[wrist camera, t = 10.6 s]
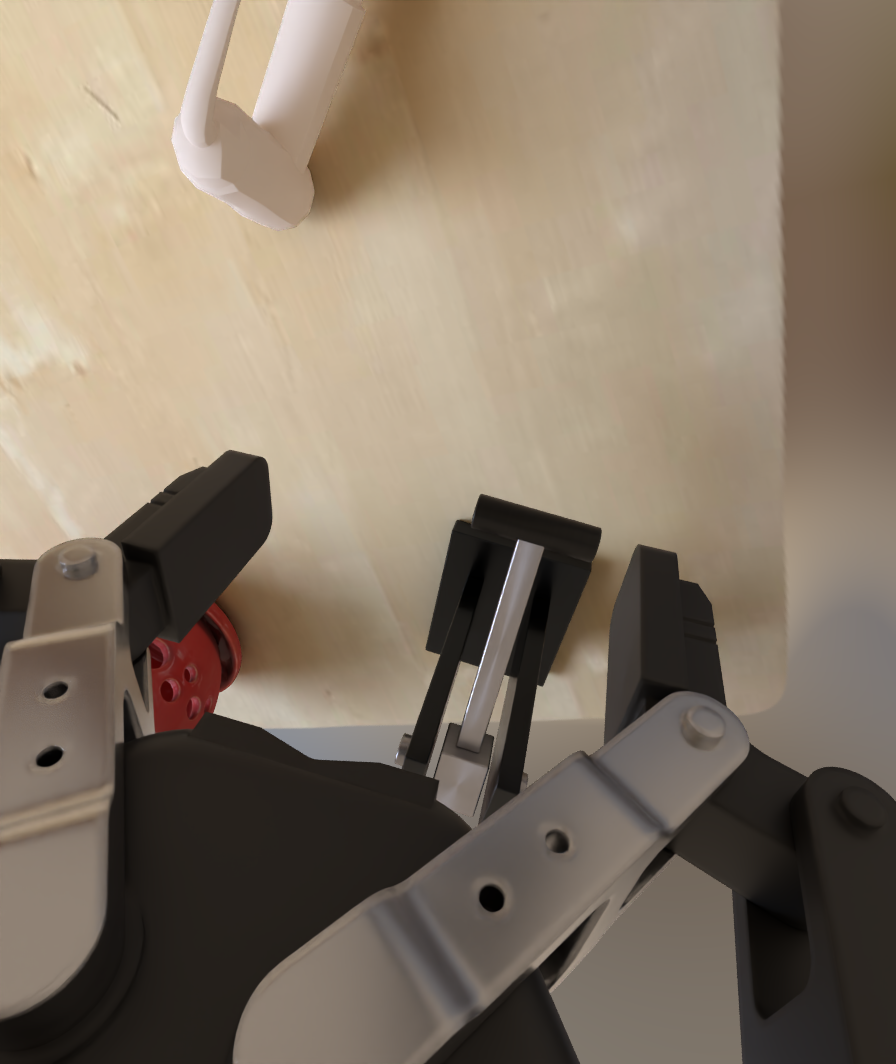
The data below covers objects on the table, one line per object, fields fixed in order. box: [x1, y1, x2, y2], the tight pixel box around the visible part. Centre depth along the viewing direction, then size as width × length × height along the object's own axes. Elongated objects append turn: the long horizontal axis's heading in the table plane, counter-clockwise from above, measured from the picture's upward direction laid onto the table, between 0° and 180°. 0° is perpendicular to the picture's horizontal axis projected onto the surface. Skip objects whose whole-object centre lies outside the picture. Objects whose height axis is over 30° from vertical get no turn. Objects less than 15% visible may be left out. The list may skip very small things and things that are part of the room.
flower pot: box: [148, 603, 242, 733], centre depth 41 cm, size 13×13×12 cm
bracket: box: [395, 520, 592, 825], centre depth 32 cm, size 10×8×14 cm
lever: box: [433, 494, 602, 817], centre depth 26 cm, size 14×5×2 cm, turn 170°
